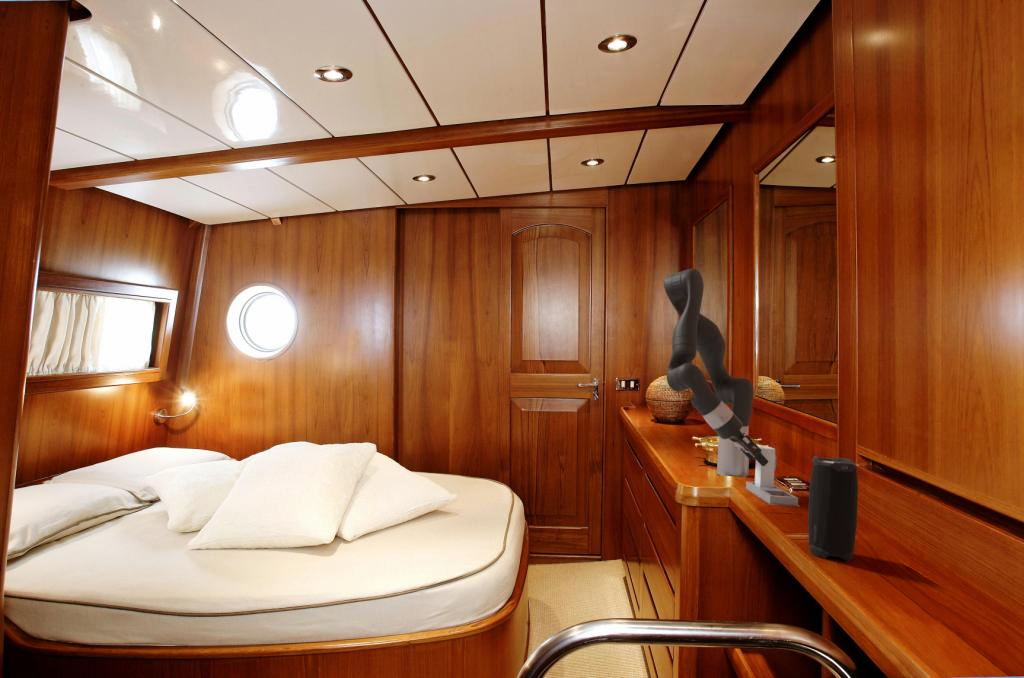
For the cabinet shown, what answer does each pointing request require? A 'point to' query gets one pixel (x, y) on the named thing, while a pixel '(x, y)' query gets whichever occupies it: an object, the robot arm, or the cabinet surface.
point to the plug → (766, 468)
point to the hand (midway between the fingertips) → (759, 461)
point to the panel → (773, 495)
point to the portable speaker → (833, 507)
